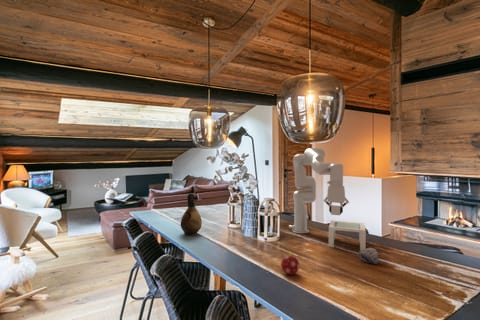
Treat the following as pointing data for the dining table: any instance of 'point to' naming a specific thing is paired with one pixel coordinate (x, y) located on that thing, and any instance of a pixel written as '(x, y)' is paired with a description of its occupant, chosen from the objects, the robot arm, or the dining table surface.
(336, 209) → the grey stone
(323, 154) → the robot arm
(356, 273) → the dining table surface
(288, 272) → the christmas ornament
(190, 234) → the ceramic jug
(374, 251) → the pumice stone
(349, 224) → the trapdoor
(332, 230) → the frame
